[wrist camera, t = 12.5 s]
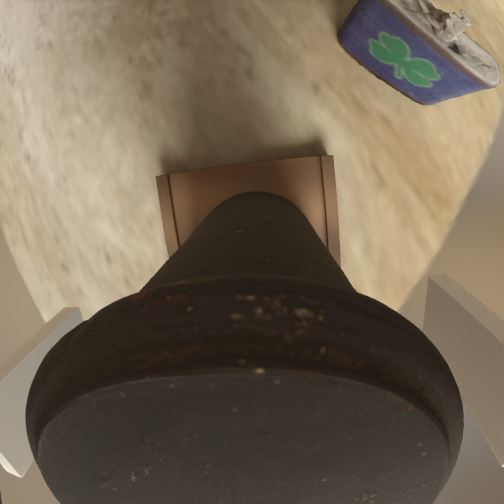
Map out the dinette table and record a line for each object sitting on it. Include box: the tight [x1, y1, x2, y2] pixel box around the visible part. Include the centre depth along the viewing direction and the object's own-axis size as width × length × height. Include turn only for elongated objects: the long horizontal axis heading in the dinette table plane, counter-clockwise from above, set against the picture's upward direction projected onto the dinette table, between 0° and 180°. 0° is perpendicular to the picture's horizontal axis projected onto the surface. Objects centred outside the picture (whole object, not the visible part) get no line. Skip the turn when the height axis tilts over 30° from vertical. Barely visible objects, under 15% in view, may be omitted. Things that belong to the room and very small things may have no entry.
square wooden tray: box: [156, 155, 341, 268], centre depth 23 cm, size 12×12×2 cm
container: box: [25, 191, 464, 504], centre depth 13 cm, size 9×9×20 cm
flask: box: [337, 0, 501, 105], centre depth 15 cm, size 9×3×11 cm, turn 58°
